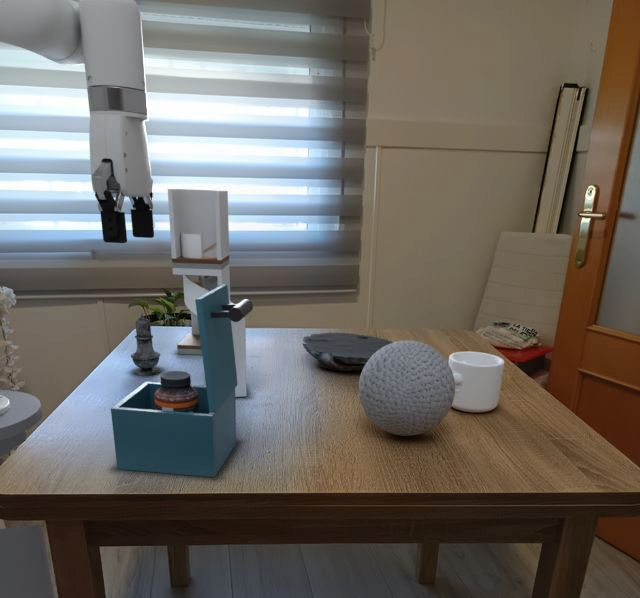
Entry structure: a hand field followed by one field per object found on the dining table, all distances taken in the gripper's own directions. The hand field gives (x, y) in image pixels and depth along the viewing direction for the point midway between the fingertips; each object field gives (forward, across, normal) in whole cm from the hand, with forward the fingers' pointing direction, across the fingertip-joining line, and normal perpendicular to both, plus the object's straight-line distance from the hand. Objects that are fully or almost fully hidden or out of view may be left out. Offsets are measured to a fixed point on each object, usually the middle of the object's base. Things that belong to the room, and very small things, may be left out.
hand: (130, 239), depth 84 cm
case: (+28, +12, +10) cm, 32 cm away
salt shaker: (+28, -25, -10) cm, 39 cm away
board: (+28, -40, +31) cm, 58 cm away
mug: (+28, -19, +54) cm, 64 cm away
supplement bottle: (+28, +12, +10) cm, 32 cm away
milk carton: (+28, -16, +9) cm, 34 cm away
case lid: (+12, +12, +16) cm, 23 cm away
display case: (+28, -46, -4) cm, 54 cm away
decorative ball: (+28, -3, +42) cm, 51 cm away
